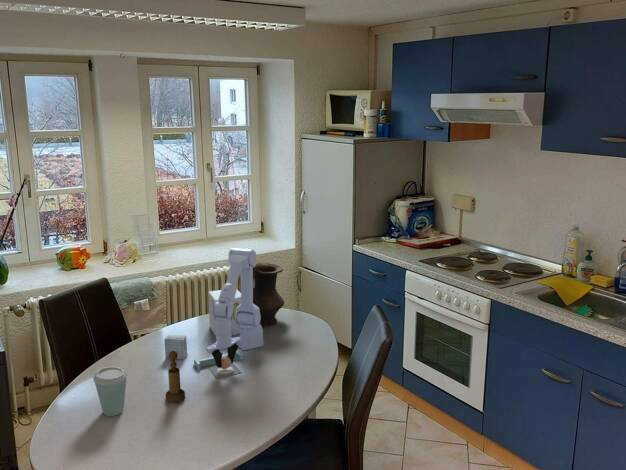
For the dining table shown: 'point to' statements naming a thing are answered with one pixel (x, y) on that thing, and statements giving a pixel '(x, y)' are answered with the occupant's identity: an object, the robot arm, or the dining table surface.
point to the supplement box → (234, 327)
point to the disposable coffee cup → (111, 389)
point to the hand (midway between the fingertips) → (224, 364)
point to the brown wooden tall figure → (174, 382)
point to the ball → (225, 362)
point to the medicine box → (176, 345)
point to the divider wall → (211, 361)
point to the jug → (266, 292)
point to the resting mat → (225, 371)
